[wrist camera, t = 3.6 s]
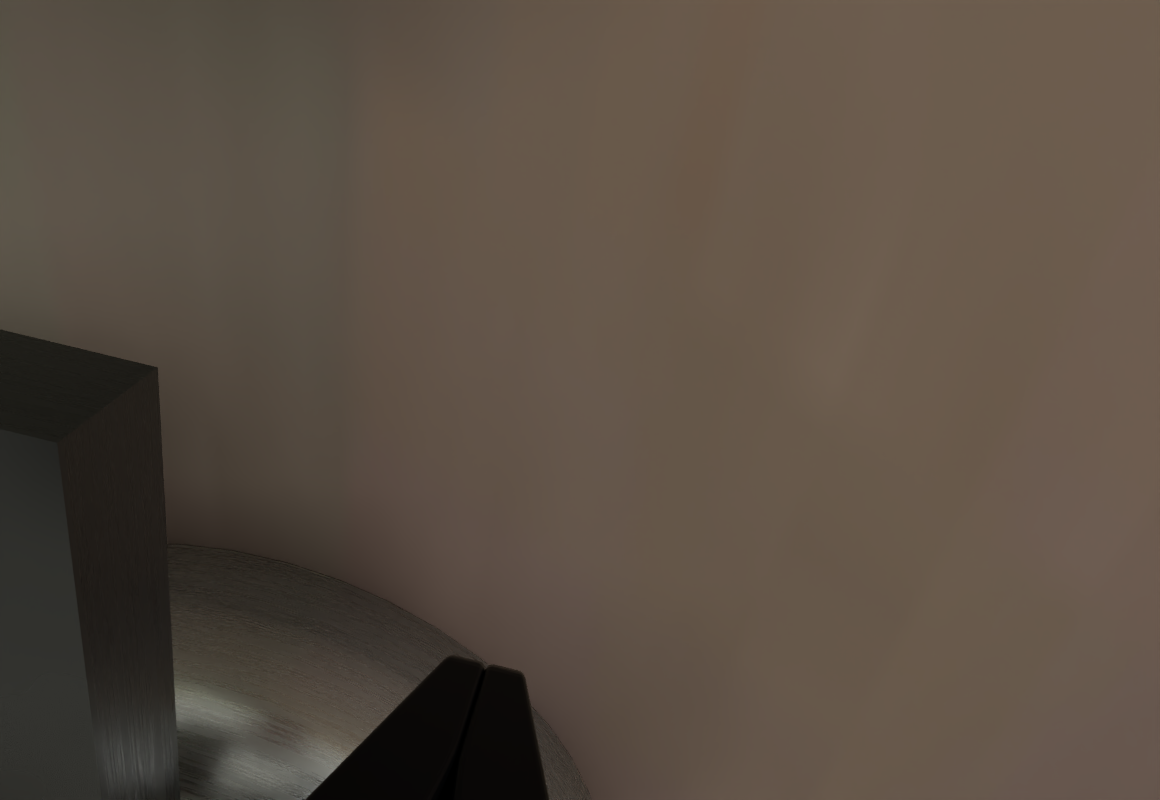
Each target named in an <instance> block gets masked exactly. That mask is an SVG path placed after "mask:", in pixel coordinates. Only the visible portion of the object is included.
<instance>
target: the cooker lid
mask: <svg viewBox="0 0 1160 800" xmlns="http://www.w3.org/2000/svg"><path fill="white" fill-rule="evenodd" d="M0 800H180V782H179V763H178V744H177V725H176V706H175V687H174V668H173V649H172V631H171V612H170V593H169V574H168V555H167V536H166V517H165V498H164V479H163V460H162V441H161V422H160V404H159V385H158V367H154V366H149V365H145V364H141V363H137V362H133V361H129V360H124V359H120V358H116V357H112V356H108V355H104V354H100V353H95V352H91V351H87V350H83V349H79V348H75V347H70V346H66V345H62V344H58V343H54V342H50V341H45V340H41V339H37V338H33V337H29V336H25V335H21V334H16V333H12V332H8V331H4V330H0Z"/></svg>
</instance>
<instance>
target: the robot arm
mask: <svg viewBox="0 0 1160 800" xmlns="http://www.w3.org/2000/svg"><path fill="white" fill-rule="evenodd" d="M305 800H549V795H548V790H547V785H546V780H545V775H544V770H543V765H542V760H541V755H540V750H539V745H538V739H537V734H536V729H535V724H534V719H533V714H532V709H531V704H530V699H529V694H528V689H527V684H526V679H525V677H524V675H523V673H522V672H520V671H518V670H514V669H510V668H506V667H502V666H498V665H489V666H488V667H487V668H486V669H485V666H484V664H483V663H482V662H480V661H477V660H473V659H469V658H465V657H461V656H456V655H450V656H448V657H446V658H445V659H444V660H443V661H442V662H441V663H440V664H439V665H438V666H437V667H436V668H435V669H434V670H433V671H432V672H431V673H430V674H429V675H428V676H427V677H426V678H425V679H424V680H423V681H422V682H421V683H420V684H419V685H418V686H417V687H416V688H415V689H414V690H413V691H412V692H411V693H410V694H409V695H408V696H407V697H406V698H405V699H404V700H403V701H402V702H401V703H400V704H399V705H398V706H397V707H396V708H395V709H394V710H393V711H392V712H391V713H390V714H389V715H388V716H387V717H386V718H385V719H384V720H383V721H382V722H381V723H380V724H379V725H378V726H377V727H376V728H375V729H374V730H373V731H372V732H371V733H370V734H369V735H368V736H367V737H366V739H365V740H364V741H363V742H362V743H361V744H360V745H359V746H358V747H357V748H356V749H355V750H354V751H353V752H352V753H351V754H350V755H349V756H348V757H347V758H346V759H345V760H344V761H343V762H342V763H341V764H340V765H339V766H338V767H337V768H336V769H335V770H334V771H333V772H332V773H331V774H330V775H329V776H328V777H327V778H326V779H325V780H324V781H323V782H322V783H321V784H320V785H319V786H318V787H317V788H316V789H315V790H314V791H313V792H312V793H311V794H310V795H309V796H308V797H307V798H306V799H305Z"/></svg>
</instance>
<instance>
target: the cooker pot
mask: <svg viewBox="0 0 1160 800" xmlns="http://www.w3.org/2000/svg"><path fill="white" fill-rule="evenodd" d="M167 555H168V574H169V593H170V612H171V631H172V649H173V668H174V687H175V706H176V725H177V744H178V763H179V782H180V800H305V799H306V798H307V797H308V796H309V795H310V794H311V793H312V792H313V791H314V790H315V789H316V788H317V787H318V786H319V785H320V784H321V783H322V782H323V781H324V780H325V779H326V778H327V777H328V776H329V775H330V774H331V773H332V772H333V771H334V770H335V769H336V768H337V767H338V766H339V765H340V764H341V763H342V762H343V761H344V760H345V759H346V758H347V757H348V756H349V755H350V754H351V753H352V752H353V751H354V750H355V749H356V748H357V747H358V746H359V745H360V744H361V743H362V742H363V741H364V740H365V739H366V737H367V736H368V735H369V734H370V733H371V732H372V731H373V730H374V729H375V728H376V727H377V726H378V725H379V724H380V723H381V722H382V721H383V720H384V719H385V718H386V717H387V716H388V715H389V714H390V713H391V712H392V711H393V710H394V709H395V708H396V707H397V706H398V705H399V704H400V703H401V702H402V701H403V700H404V699H405V698H406V697H407V696H408V695H409V694H410V693H411V692H412V691H413V690H414V689H415V688H416V687H417V686H418V685H419V684H420V683H421V682H422V681H423V680H424V679H425V678H426V677H427V676H428V675H429V674H430V673H431V672H432V671H433V670H434V669H435V668H436V667H437V666H438V665H439V664H440V663H441V662H442V661H443V660H444V659H445V658H446V657H448V656H450V655H456V656H461V657H465V658H469V659H473V660H477V661H480V662H482V663H483V664H484V666H485V669H486V668H487V667H488V666H489V665H487V664H486V663H485V662H484V661H483V660H482V659H480V658H479V657H477V656H476V655H475V654H473V653H472V652H470V651H469V650H467V649H466V648H465V647H463V646H462V645H460V644H459V643H457V642H456V641H455V640H453V639H452V638H450V637H449V636H447V635H446V634H445V633H443V632H442V631H440V630H439V629H437V628H435V627H434V626H432V625H430V624H428V623H426V622H425V621H423V620H421V619H419V618H418V617H416V616H414V615H412V614H410V613H409V612H407V611H405V610H403V609H401V608H400V607H398V606H396V605H394V604H393V603H391V602H388V601H386V600H384V599H382V598H379V597H377V596H375V595H372V594H370V593H368V592H366V591H363V590H361V589H359V588H357V587H354V586H352V585H350V584H347V583H345V582H343V581H341V580H338V579H335V578H332V577H329V576H326V575H323V574H319V573H316V572H313V571H310V570H307V569H304V568H301V567H298V566H295V565H292V564H289V563H286V562H281V561H277V560H272V559H268V558H263V557H259V556H255V555H250V554H246V553H241V552H237V551H231V550H222V549H214V548H206V547H198V546H190V545H171V544H167ZM531 709H532V714H533V719H534V724H535V729H536V734H537V739H538V745H539V750H540V755H541V760H542V765H543V770H544V775H545V780H546V785H547V790H548V795H549V800H591V797H590V794H589V791H588V789H587V787H586V785H585V783H584V781H583V779H582V777H581V775H580V773H579V771H578V769H577V767H576V765H575V763H574V761H573V759H572V758H571V756H570V755H569V753H568V752H567V750H566V749H565V748H564V746H563V745H562V743H561V742H560V740H559V739H558V737H557V736H556V735H555V733H554V732H553V730H552V729H551V727H550V726H549V725H548V724H547V722H546V721H545V720H544V719H543V718H542V717H541V716H540V715H539V714H538V713H537V711H536V710H535V709H534V708H533V707H532V706H531Z"/></svg>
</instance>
